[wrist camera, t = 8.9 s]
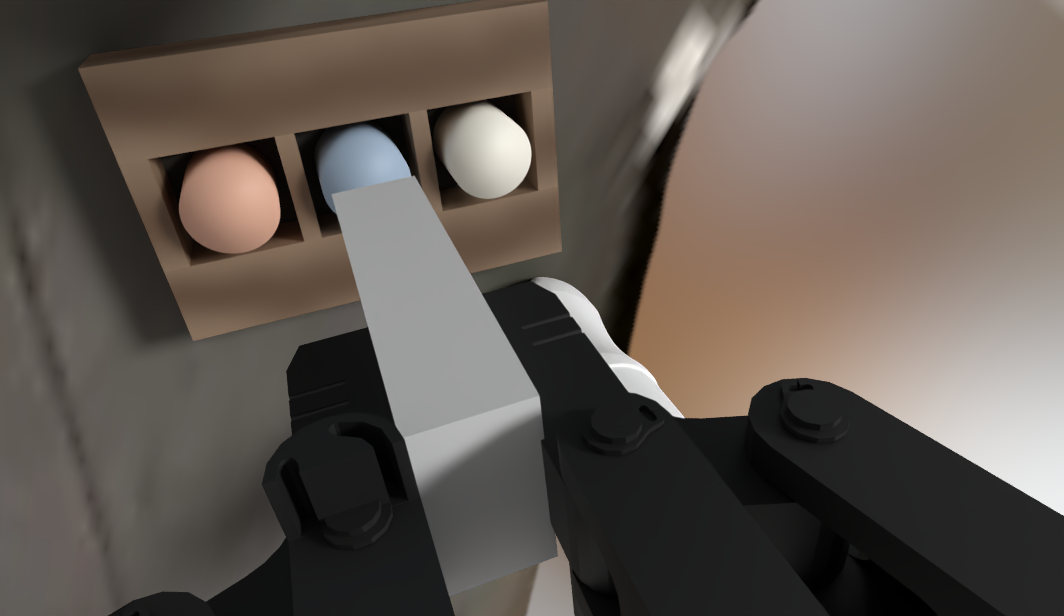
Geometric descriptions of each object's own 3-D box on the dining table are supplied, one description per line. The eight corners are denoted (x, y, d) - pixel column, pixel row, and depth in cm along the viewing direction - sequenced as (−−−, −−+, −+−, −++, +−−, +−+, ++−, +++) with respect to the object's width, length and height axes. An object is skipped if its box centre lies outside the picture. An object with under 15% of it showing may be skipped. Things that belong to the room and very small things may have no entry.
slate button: (305, 126, 36) (311, 149, 32) (388, 111, 37) (403, 132, 33) (325, 204, 38) (333, 233, 35) (403, 188, 39) (417, 214, 36)
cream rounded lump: (426, 104, 37) (444, 125, 34) (503, 91, 38) (528, 109, 35) (438, 180, 40) (456, 206, 36) (510, 165, 41) (534, 189, 37)
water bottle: (596, 308, 48) (848, 604, 28) (520, 374, 49) (716, 709, 29) (539, 244, 44) (789, 540, 24) (457, 317, 45) (634, 665, 25)
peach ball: (171, 149, 34) (164, 177, 31) (263, 133, 35) (265, 158, 32) (201, 229, 36) (197, 262, 33) (286, 211, 37) (290, 242, 34)
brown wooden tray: (90, 54, 31) (77, 68, 28) (527, -7, 36) (547, 1, 34) (196, 312, 38) (193, 340, 36) (543, 231, 44) (561, 251, 41)
